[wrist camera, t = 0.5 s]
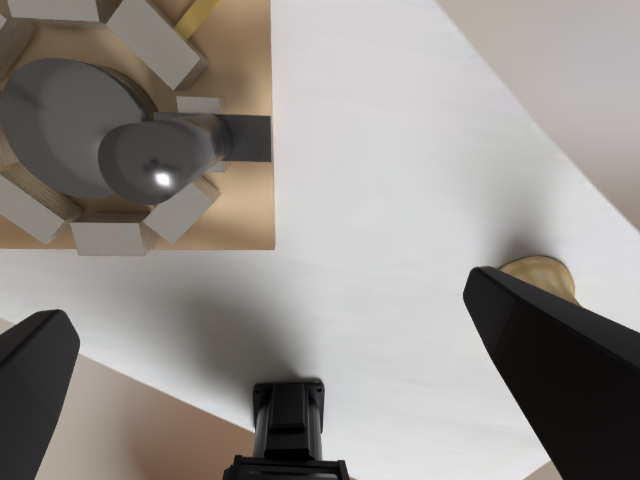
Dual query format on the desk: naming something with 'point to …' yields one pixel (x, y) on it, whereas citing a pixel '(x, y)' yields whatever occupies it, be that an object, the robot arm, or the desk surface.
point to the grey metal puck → (68, 120)
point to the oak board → (215, 82)
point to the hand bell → (544, 275)
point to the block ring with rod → (131, 136)
